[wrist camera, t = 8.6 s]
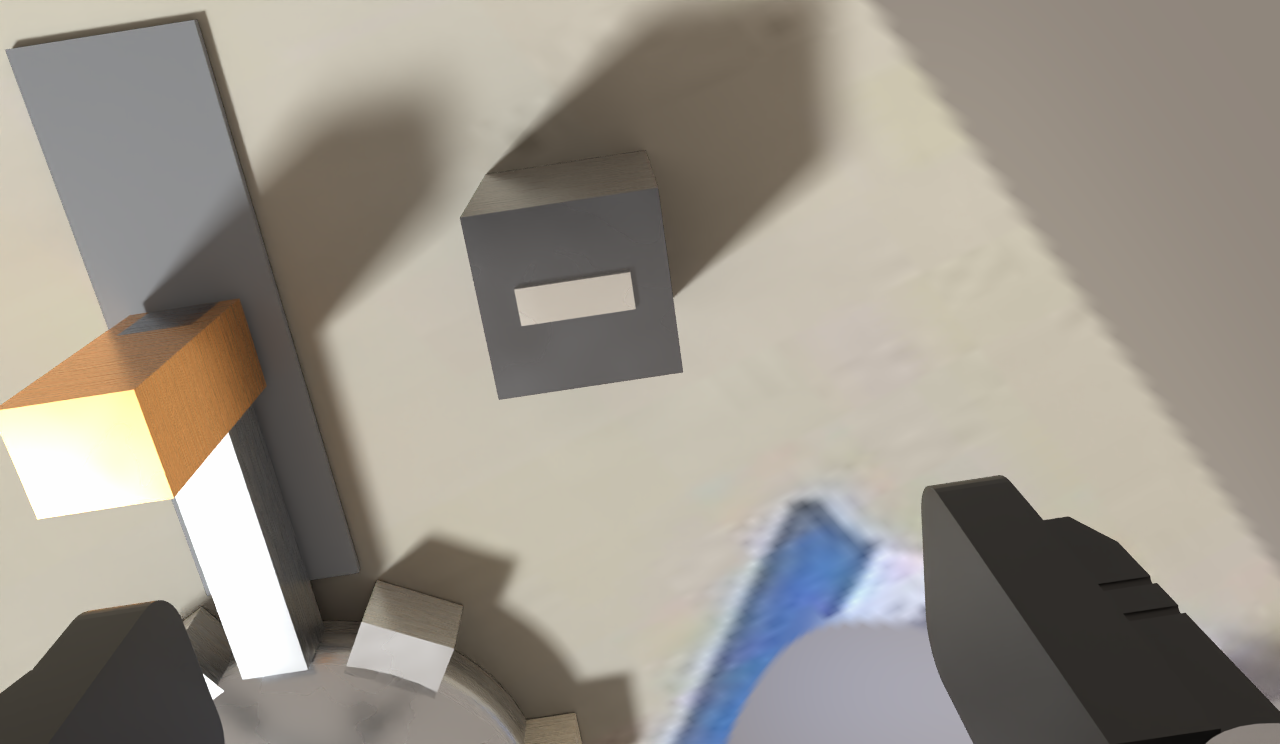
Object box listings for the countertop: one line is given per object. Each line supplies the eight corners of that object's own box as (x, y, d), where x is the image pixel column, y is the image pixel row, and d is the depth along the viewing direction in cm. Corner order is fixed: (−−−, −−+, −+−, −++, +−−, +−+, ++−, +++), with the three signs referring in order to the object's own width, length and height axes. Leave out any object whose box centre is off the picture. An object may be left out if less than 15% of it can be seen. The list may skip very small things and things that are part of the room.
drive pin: (246, 641, 28) (160, 802, 22) (129, 315, 24) (-9, 411, 19) (342, 626, 28) (279, 785, 22) (239, 298, 24) (133, 389, 19)
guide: (209, 591, 28) (207, 595, 28) (9, 48, 22) (5, 49, 22) (360, 568, 28) (359, 572, 28) (197, 19, 22) (193, 19, 22)
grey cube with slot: (516, 325, 25) (498, 401, 21) (485, 174, 24) (459, 218, 19) (667, 303, 25) (683, 374, 21) (645, 149, 24) (658, 188, 19)
